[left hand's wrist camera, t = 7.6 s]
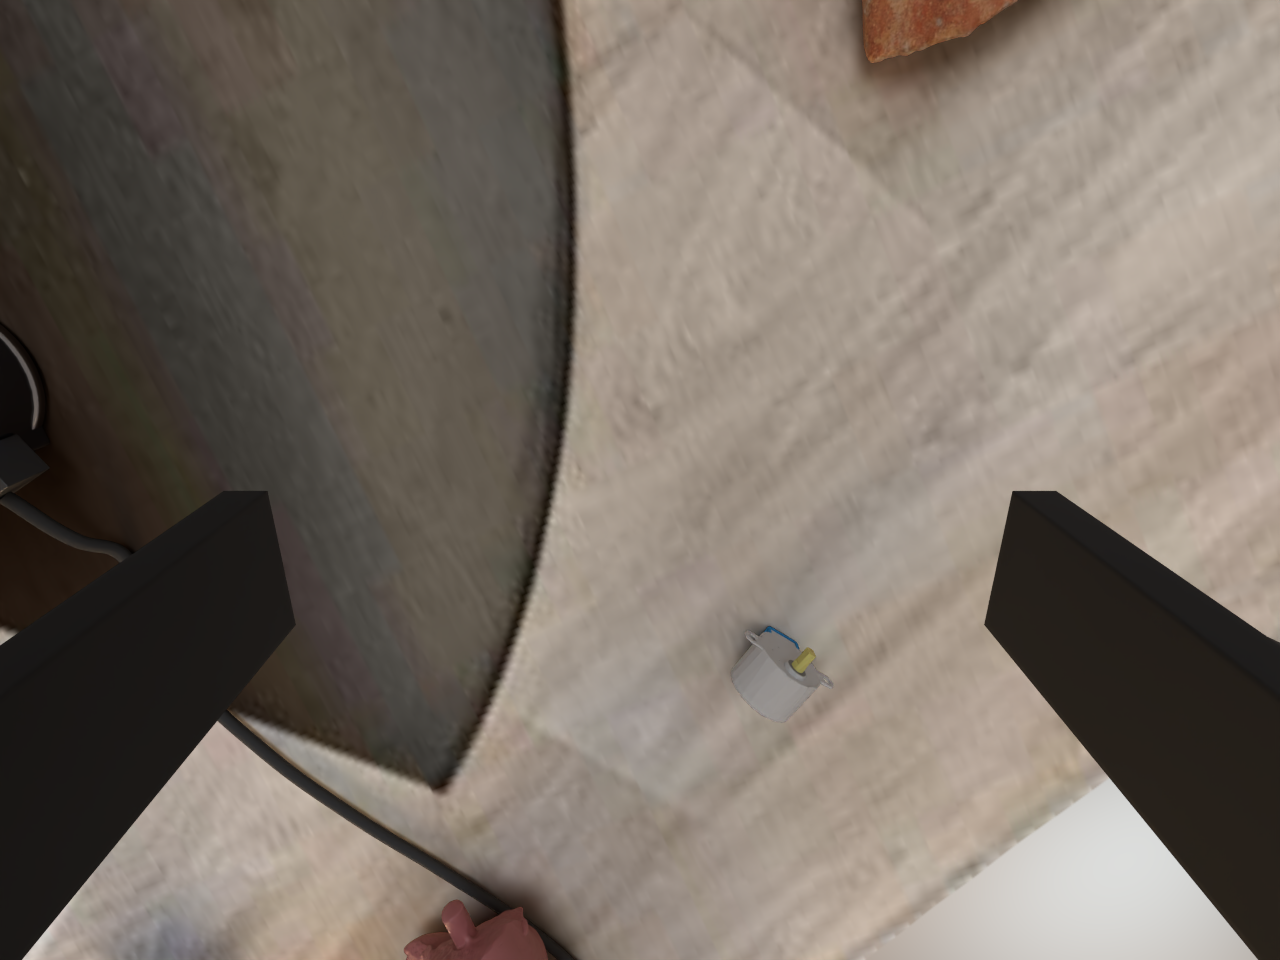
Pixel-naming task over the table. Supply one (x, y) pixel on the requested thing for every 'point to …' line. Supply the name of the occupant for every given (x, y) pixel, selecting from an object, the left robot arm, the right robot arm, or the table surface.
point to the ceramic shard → (921, 23)
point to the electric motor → (776, 675)
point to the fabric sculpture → (479, 938)
